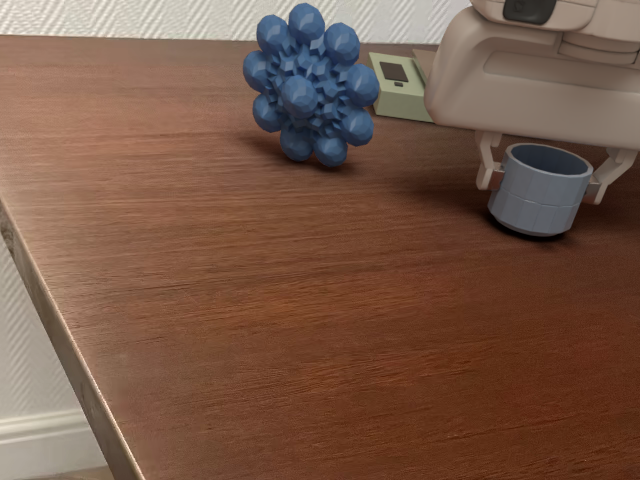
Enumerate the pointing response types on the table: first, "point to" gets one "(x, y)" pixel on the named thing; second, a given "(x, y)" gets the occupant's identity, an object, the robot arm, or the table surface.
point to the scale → (398, 87)
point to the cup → (540, 189)
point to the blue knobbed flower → (311, 85)
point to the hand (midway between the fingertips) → (535, 194)
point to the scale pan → (423, 61)
